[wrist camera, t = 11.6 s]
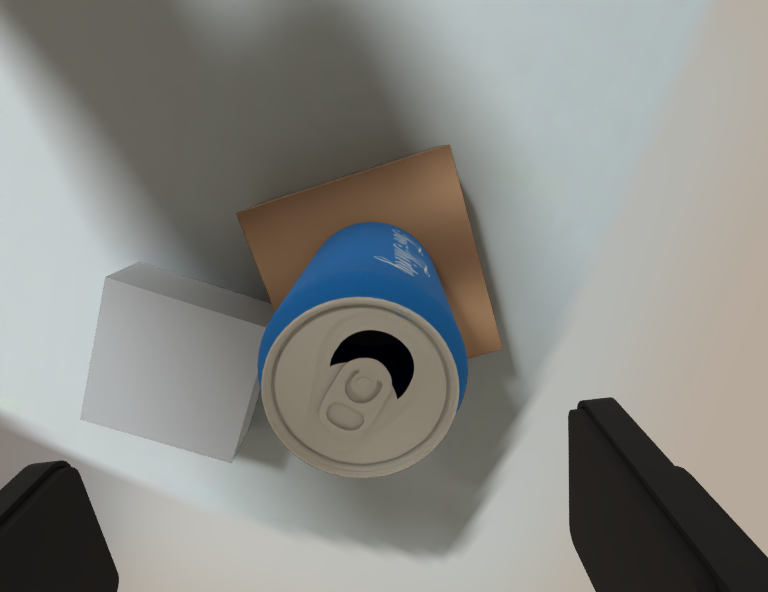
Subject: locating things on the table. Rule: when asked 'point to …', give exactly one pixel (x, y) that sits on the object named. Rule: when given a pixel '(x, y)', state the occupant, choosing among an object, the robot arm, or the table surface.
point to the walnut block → (385, 205)
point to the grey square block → (175, 361)
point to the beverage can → (363, 356)
